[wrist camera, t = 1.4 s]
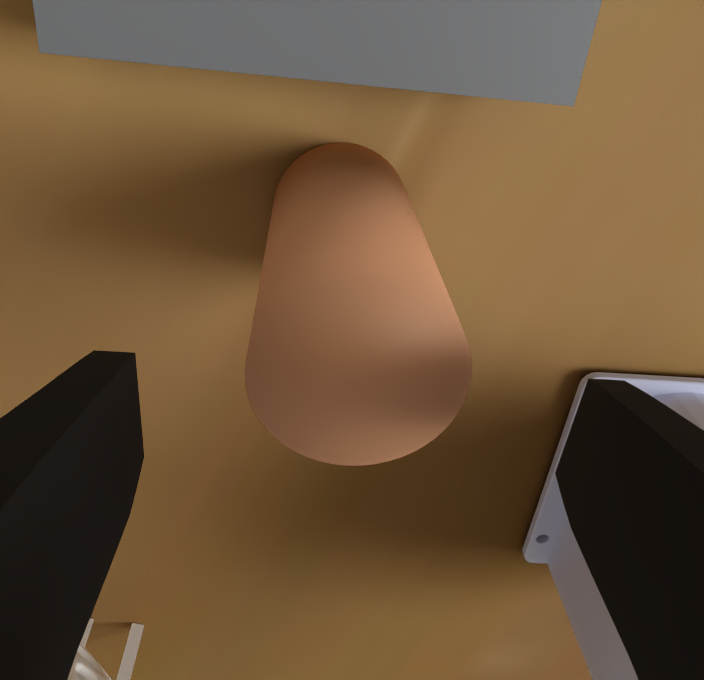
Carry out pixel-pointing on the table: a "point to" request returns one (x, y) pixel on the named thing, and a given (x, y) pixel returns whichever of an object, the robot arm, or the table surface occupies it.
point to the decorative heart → (89, 674)
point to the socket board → (343, 40)
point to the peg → (352, 317)
